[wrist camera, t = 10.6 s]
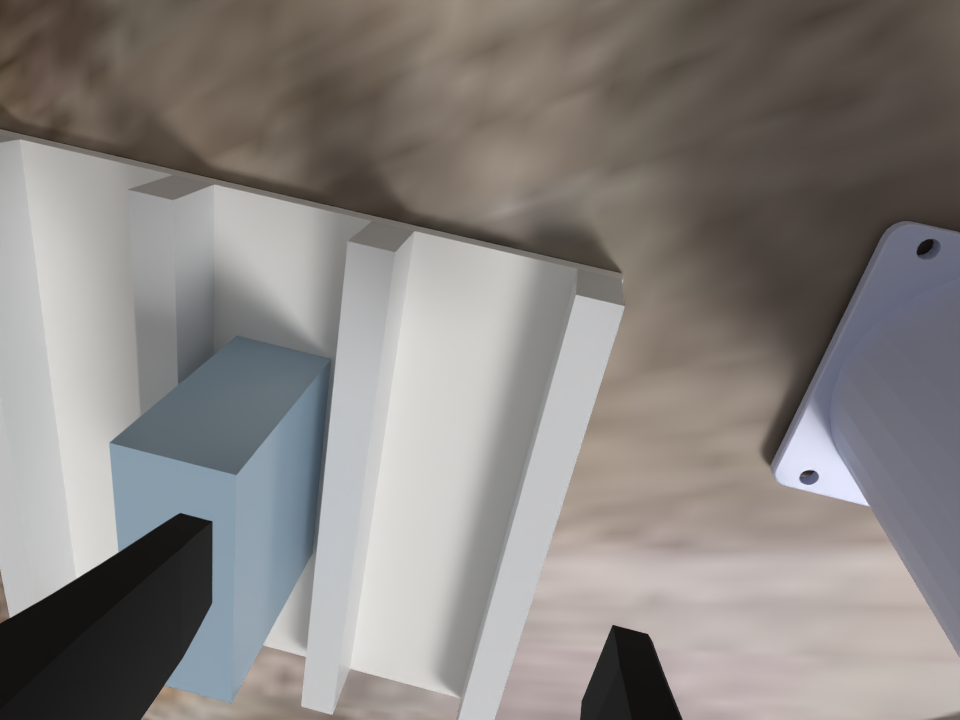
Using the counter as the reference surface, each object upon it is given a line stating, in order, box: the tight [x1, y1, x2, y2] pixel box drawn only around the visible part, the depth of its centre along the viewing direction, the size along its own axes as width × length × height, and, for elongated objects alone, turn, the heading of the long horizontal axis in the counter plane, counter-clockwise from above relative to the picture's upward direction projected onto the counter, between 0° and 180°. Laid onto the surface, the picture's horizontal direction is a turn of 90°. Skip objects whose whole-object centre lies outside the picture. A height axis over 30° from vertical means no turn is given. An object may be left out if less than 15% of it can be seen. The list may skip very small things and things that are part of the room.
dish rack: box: [0, 129, 625, 720], centre depth 21 cm, size 18×18×2 cm
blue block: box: [109, 336, 331, 703], centre depth 19 cm, size 3×8×6 cm, turn 169°
